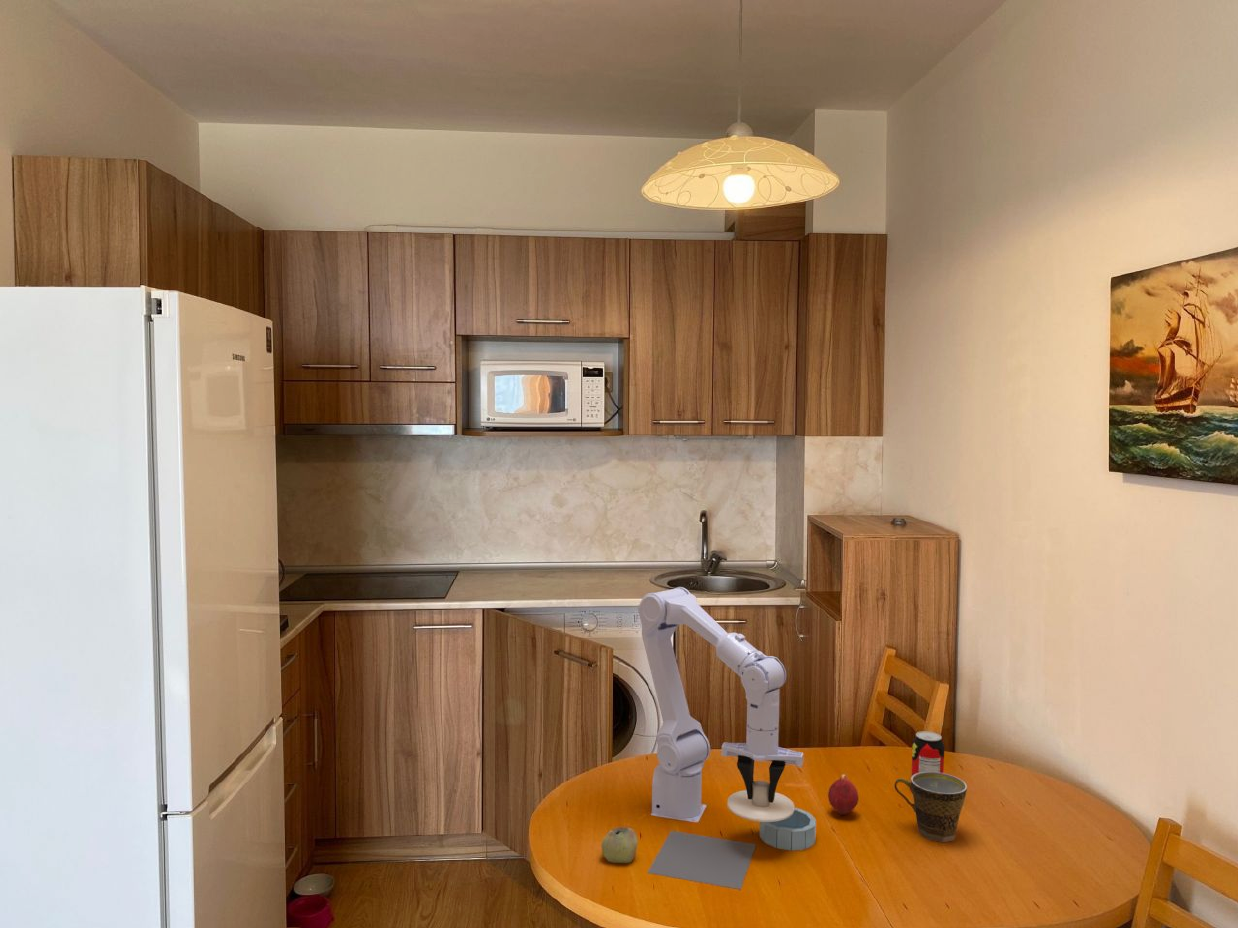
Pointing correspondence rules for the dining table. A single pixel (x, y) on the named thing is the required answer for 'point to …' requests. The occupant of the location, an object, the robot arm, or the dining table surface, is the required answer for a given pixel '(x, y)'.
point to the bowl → (790, 831)
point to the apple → (620, 845)
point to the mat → (703, 859)
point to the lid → (760, 804)
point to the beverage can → (927, 753)
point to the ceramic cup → (936, 803)
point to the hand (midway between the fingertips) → (761, 798)
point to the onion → (843, 795)
